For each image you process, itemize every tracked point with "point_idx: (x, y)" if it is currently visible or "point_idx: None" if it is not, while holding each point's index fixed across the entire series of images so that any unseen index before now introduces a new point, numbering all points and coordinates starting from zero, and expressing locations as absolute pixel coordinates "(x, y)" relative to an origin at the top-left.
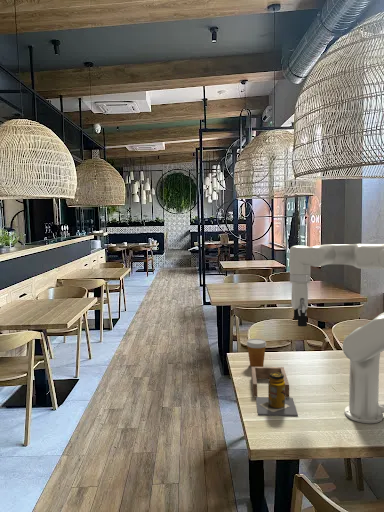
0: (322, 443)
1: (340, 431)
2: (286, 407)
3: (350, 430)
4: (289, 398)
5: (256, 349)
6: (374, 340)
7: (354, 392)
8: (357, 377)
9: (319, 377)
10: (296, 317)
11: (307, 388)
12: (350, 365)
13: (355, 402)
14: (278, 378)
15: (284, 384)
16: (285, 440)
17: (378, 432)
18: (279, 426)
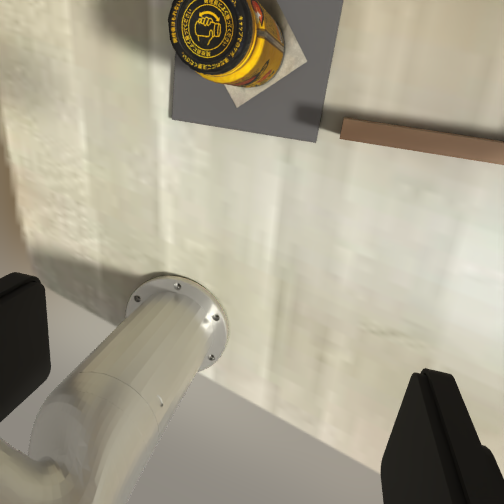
0: (21, 142)
1: (87, 219)
2: (228, 90)
3: (95, 248)
4: (311, 127)
5: None
6: None
7: (116, 332)
8: (70, 374)
9: None
10: (410, 424)
11: (413, 240)
12: (84, 395)
13: (129, 316)
14: (170, 31)
15: (203, 77)
16: (21, 27)
17: (90, 310)
18: (103, 27)
